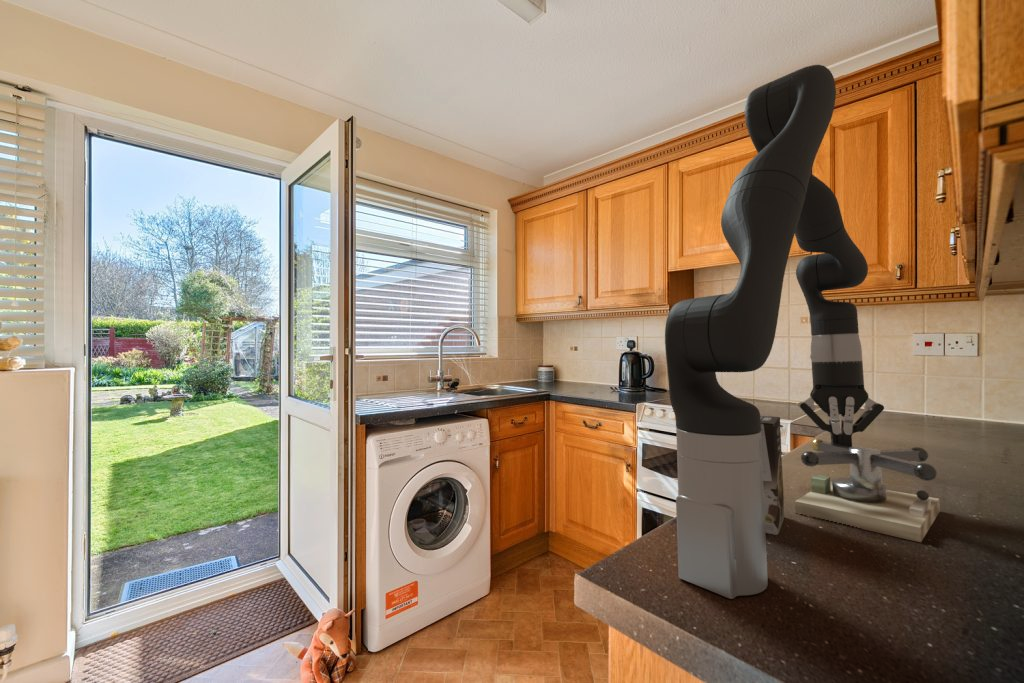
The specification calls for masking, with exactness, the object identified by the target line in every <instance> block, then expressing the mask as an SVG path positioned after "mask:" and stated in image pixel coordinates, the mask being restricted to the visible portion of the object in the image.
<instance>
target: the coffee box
mask: <svg viewBox="0 0 1024 683" xmlns="http://www.w3.org/2000/svg"><path fill="white" fill-rule="evenodd" d="M760 418H761V439H762V465H763V489H764V512H765V534H770V535H773V536H774V535H775V536H778V535H779V533H780V531H781V528H782V525H783V523H784V519H785V496H784V477H783V474H784V473H783V457H782V456H783V452H782V436H781V435H782V434H781V433H782V432H781V417H780V416H772V415H771V416H769V415H768V416H767V415H760Z"/></svg>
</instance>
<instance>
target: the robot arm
mask: <svg viewBox="0 0 1024 683" xmlns="http://www.w3.org/2000/svg"><path fill="white" fill-rule="evenodd" d="M833 75H834V74H833V73H832V71H830V69H829V68H828V67H827V66H825V65H822V64H812V65H808V66H804V67H802V68H799V69H797V70H794V71H793V72H790V73H788V74H786V75H784V76H781V77H779V78H777V79H775V80H772V81H769V82H767V83H765V84H763V85H760V86H759V87H756V88H754V89H753V90H752V91H751V92H750V93H748V94H749V95H748V96H747V98H746V99H745V100H746V101H745V103H744V104H745V105H744V120H745V125H746V130H747V131H748V132H747V133H748V135H749V138H750V140H751V142H752V144H753V147H754V148H755V151H756V152H757V154H756V155H754V157H753V158H752V159H750V161H748V163H747V164H746V165H745V166H744V167H743V168H742V169H741V171H740V172H738V174H737V176H735V178H734V180H733V183H732V186H731V187H730V190H729V193H728V195H727V198H726V201H725V203H724V207H723V209H722V213H721V217H720V225H721V226H720V227H721V229H722V230H721V231H722V234H723V237H724V239H725V240H726V242H727V244H728V246H729V248H730V249H731V250H732V252H733V253H734V255H735V257H737V259H738V262H739V264H740V274H739V275H738V276H739V277H738V281H737V283H736V286H735V287H734V289H733V290H731V292H728V293H723V294H714V295H709V296H702V297H701V296H699V297H694V298H689V299H683V300H679V301H678V302H677V303H675V304H674V305H673V306H672V307H671V309H670V310H669V312H668V314H667V318H666V322H665V328H664V346H665V358H666V367H667V368H666V369H667V380H668V393H669V394H668V395H669V401H670V405H671V408H672V410H673V413H674V417H675V429H676V435H675V436H676V458H677V459H676V461H677V462H676V464H677V465H676V466H677V468H676V469H677V489H678V490H677V491H678V492H677V493H678V496H676V498H675V505H676V506H675V508H676V509H675V510H676V511H675V512H676V513H675V514H676V536H677V537H676V538H677V539H676V540H677V542H676V543H677V565H678V568H677V569H678V570H677V571H678V578H679V579H681V580H683V581H685V582H688V583H691V584H693V585H695V586H697V587H700V588H703V589H705V590H706V591H707V590H708V591H710V592H713V593H715V594H718V595H720V596H722V597H724V598H727V599H730V600H732V599H734V598H736V597H739V596H740V597H741V596H753V595H757V594H760V593H762V592H764V591H765V590H766V589H767V587H768V584H769V582H768V561H767V560H768V558H767V541H766V540H767V539H766V535H767V534H766V533H765V512H764V489H763V465H762V439H761V418H760V416H761V413H760V410H759V409H758V407H757V406H755V405H754V404H753V403H750V402H749V401H747V400H744V399H741V398H739V397H737V396H735V395H734V394H731V393H730V392H728V391H727V390H726V389H724V387H722V386H721V385H720V384H719V382H718V378H717V374H716V373H748V372H749V373H750V372H755V371H757V370H759V369H760V368H761V367H763V366H764V365H765V363H766V361H767V359H768V358H769V356H770V354H771V352H772V349H773V345H774V343H775V342H774V341H775V338H776V331H777V325H778V320H779V313H780V306H781V298H782V290H783V286H784V285H783V284H784V278H785V273H786V270H787V269H786V268H787V263H788V260H789V256H790V252H791V248H792V245H793V241H794V238H796V242H797V245H798V247H799V248H800V249H801V250H803V251H804V252H806V253H807V252H808V253H817V254H812V255H808V256H807V255H806V256H805V257H803V258H801V260H799V262H798V264H797V266H796V270H795V275H796V276H795V277H796V280H797V282H798V285H799V288H800V289H801V290H800V291H801V292H802V293H803V297H804V298H805V301H806V304H807V309H808V312H809V318H810V319H809V320H810V331H811V332H810V334H811V335H810V337H811V340H810V341H811V342H810V355H809V356H810V357H809V358H810V360H811V375H812V389H811V391H810V395H809V396H810V397H808V398H807V399H804V401H799V403H798V404H797V406H798V407H799V408H800V410H802V412H804V413H805V415H806V416H807V417H808V418H809V419H810V420H811V421H812V422H813V423H814V424H815V425H816V426H817V427H818V428H819V429H821V430H822V431H825V432H828V433H829V434H830V440H831V441H830V443H834V444H838V445H843V446H847V447H853V440H852V439H853V438H852V436H853V434H855V433H858V432H859V433H863V432H865V430H866V429H867V428H868V427H869V426H870V425H871V424H872V423H873V421H874V420H875V419H876V418H877V417H878V416H879V415H880V414H881V413H882V412H883V411H884V410H885V406H884V405H883V404H881V403H878V402H876V401H874V400H873V399H871V398H869V393H868V392H867V390H866V389H865V379H864V363H863V349H862V343H861V340H860V334H859V333H860V331H859V318H858V308H857V306H856V305H855V304H854V303H852V302H849V301H836V300H835V301H834V300H829V299H827V298H825V296H824V295H823V292H826V291H834V290H835V291H836V290H841V289H842V290H843V289H851V288H855V287H858V286H860V285H861V284H862V283H863V282H864V281H865V280H866V278H867V276H868V273H869V272H868V271H869V267H868V262H867V259H866V257H865V256H864V254H863V253H862V251H861V250H860V249H859V247H858V246H857V244H855V242H854V241H853V239H852V238H851V237H850V235H849V234H848V232H847V230H846V228H845V224H844V221H843V216H842V212H841V208H840V204H839V202H838V198H837V197H836V195H835V193H834V192H833V190H832V189H831V188H830V187H829V186H828V185H827V184H826V183H825V182H824V181H822V180H820V179H819V178H818V177H817V176H815V175H814V174H813V173H812V170H813V166H814V163H815V160H816V157H817V154H818V151H819V150H820V147H821V144H822V143H823V140H824V137H825V135H826V133H827V131H828V128H829V125H830V123H831V121H832V119H833V114H834V111H835V105H836V94H837V90H836V81H835V78H834V76H833ZM815 404H816V405H817V406H818V407H819V408H820V409H821V411H822V412H824V413H825V414H826V418H827V421H828V423H826V422H825V421H824V420H823V419H822V418H821V417H820V416H819V415H818V414H817V413H816V411H815V410H816V406H815ZM864 404H865V405H864ZM862 407H863V409H864V412H863V413H862V414H861V416H859V417H858V419H856V421H855V422H854V419H855V418H854V415H856V414H857V413H858V411H859V410H860V409H861V408H862Z"/></svg>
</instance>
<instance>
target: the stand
mask: <svg viewBox="0 0 1024 683" xmlns="http://www.w3.org/2000/svg"><path fill="white" fill-rule="evenodd" d="M832 480H833V479H832ZM832 480H831V477H830V476H827V475H822V474H821V475H819V474H816V475H814V476H812V477H811V478H810V481H811V490H810V491H808V492H807V493H805V494H804V495H803V496H801V497H799V498H798V499H796V500H795V501H794V503H795V504H794V508H795V514H796V513H801V514H804V515H809V516H813V517H817V518H821V519H825V520H824V521H826V520H829V521H828V522H830V521H833V522H832V523H834V522H837V523H836V524H839V523H842V524H841V525H843V524H846V525H845V526H847V525H850V526H849V527H852V526H854V527H853V528H856V527H857V529H860V528H861V529H862V530H865V531H870V532H874V533H877V534H883V535H888V536H892V537H896V538H900V539H904V540H909V541H913V542H917V543H922V542H923V540H924V539H925V537H926V535H927V533H928V531H929V530H930V528H931V526H932V525H933V524H934V522H935V520H936V518H938V515H939V514H940V511H941V509H940V508H941V507H940V506H941V505H940V498H936V497H931V496H930V494H929V493H928V492H927V491H926V490H918V491H916V494H914V493H907V492H901V491H895V490H891V489H890V490H889V489H886V498H887V499H886V500H885V501H876V502H874V501H861V500H855V499H850V498H846V497H842V496H839V495H837V494H835V493H834V492H833V486H832ZM804 515H803V516H804ZM809 516H808V517H809ZM813 517H812V518H813ZM817 518H816V519H817ZM821 519H820V520H821Z"/></svg>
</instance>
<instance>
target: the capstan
mask: <svg viewBox="0 0 1024 683" xmlns="http://www.w3.org/2000/svg"><path fill="white" fill-rule="evenodd" d="M810 447H811V449H812V450H813V451H815V452H813V451H809V450H808V451H807V450H806V451H804V452H803V453H801V455H800V460H801V462H802V464H804V465H805V466H806V467H811V468H812V467H813V468H814V467H815V466H825V465H826V466H827V465H846V464H847V465H849V474H850V475H849V476H850V477H836V478H833V479H832V486H833V492H834V493H835V494H837V495H839V496H842V497H846V498H850V499H855V500H861V501H874V502H876V501H885V500H886V499H887V498H886V490H887V486H886V485H884V484H883V475H882V474H883V473H882V468H883V469H885V470H886V469H887V470H890V471H894V472H897V473H901V474H905V475H909V476H913V477H917V478H919V479H920V480H922V481H933V480H934V479H936V478H937V475H938V472H937V469H936V468H935V467H934V466H933V465H931V464H929V463H926V461H927V460H928V459H929V457H930V456H929V453H928V451H927V450H926V449H925V448H923V447H920V446H916V447H912V448H902V449H901V448H898V449H897V448H896V449H878V448H872V447H864V446H852V447H847V446H843V445H838V444H834V443H831V441H825V440H823V439H821V438H815V439H812V440H811V442H810Z"/></svg>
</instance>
